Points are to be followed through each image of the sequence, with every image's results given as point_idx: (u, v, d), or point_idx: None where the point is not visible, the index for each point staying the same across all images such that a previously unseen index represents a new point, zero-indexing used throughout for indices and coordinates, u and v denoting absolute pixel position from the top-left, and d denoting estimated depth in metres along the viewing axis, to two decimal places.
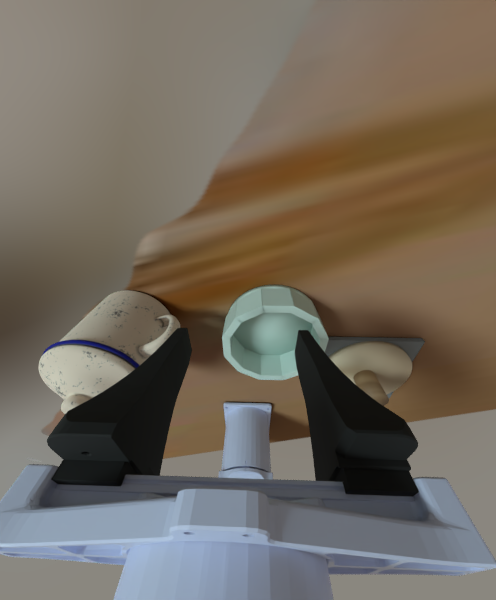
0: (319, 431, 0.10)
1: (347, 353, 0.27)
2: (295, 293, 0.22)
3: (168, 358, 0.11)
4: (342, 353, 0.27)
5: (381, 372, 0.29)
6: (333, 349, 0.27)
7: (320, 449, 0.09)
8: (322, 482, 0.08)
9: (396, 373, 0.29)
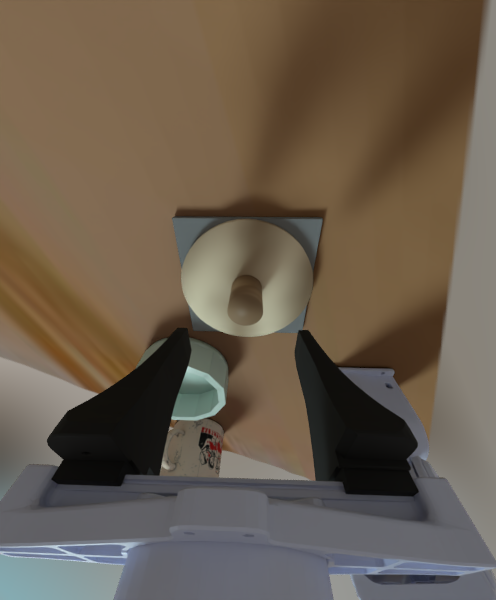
0: (319, 431, 0.10)
1: (202, 317, 0.22)
2: None
3: (168, 358, 0.11)
4: (204, 320, 0.22)
5: (234, 268, 0.19)
6: None
7: (320, 449, 0.09)
8: (322, 482, 0.08)
9: (236, 245, 0.17)
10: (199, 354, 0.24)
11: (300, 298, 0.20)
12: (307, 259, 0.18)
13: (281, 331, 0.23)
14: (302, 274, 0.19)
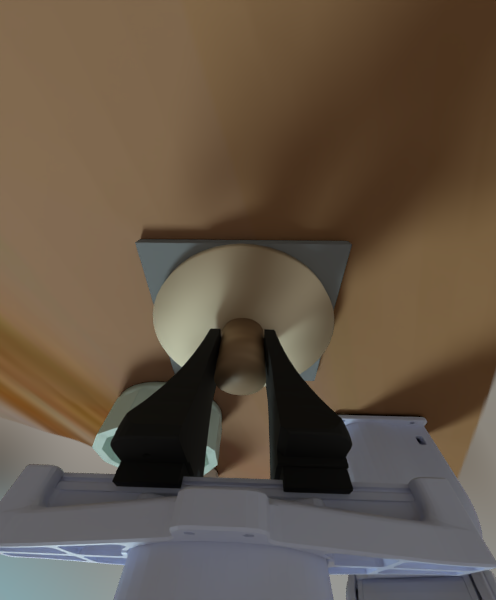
0: (272, 430, 0.10)
1: None
2: None
3: (209, 359, 0.11)
4: None
5: (226, 309, 0.13)
6: None
7: (272, 447, 0.09)
8: None
9: (227, 281, 0.12)
10: None
11: (316, 345, 0.15)
12: (327, 299, 0.13)
13: None
14: (319, 317, 0.14)
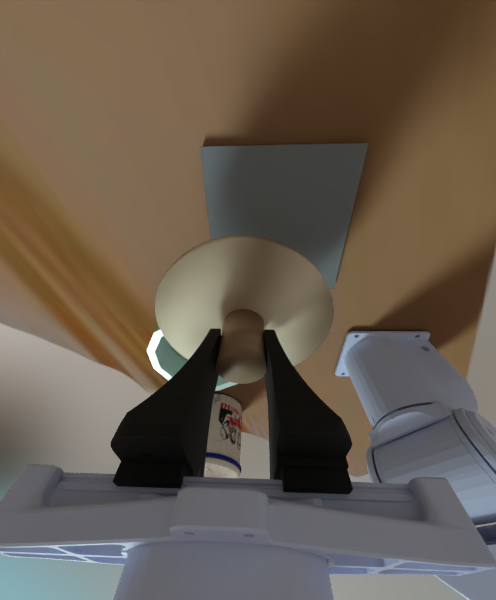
0: (271, 430, 0.10)
1: (186, 354, 0.17)
2: None
3: (209, 359, 0.11)
4: (189, 358, 0.17)
5: (227, 300, 0.14)
6: None
7: (271, 447, 0.09)
8: None
9: (230, 272, 0.12)
10: None
11: (314, 336, 0.15)
12: (328, 292, 0.13)
13: None
14: (319, 309, 0.14)
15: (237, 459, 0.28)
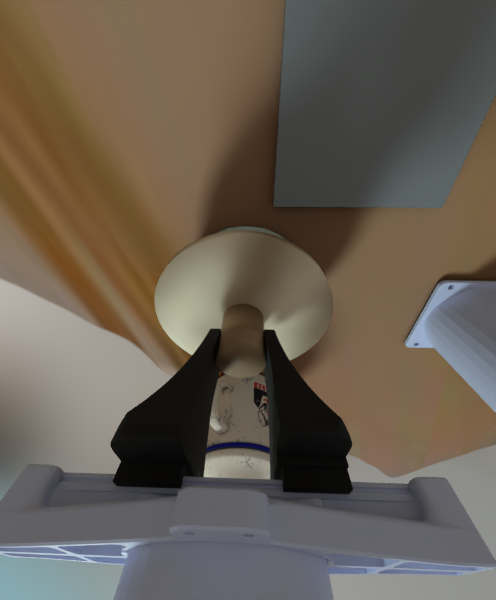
0: (271, 430, 0.10)
1: (183, 346, 0.17)
2: None
3: (209, 359, 0.11)
4: (186, 349, 0.17)
5: (229, 295, 0.13)
6: (297, 189, 0.15)
7: (271, 448, 0.09)
8: None
9: (233, 267, 0.12)
10: None
11: (312, 333, 0.16)
12: (329, 291, 0.13)
13: (411, 205, 0.15)
14: (319, 307, 0.14)
15: None
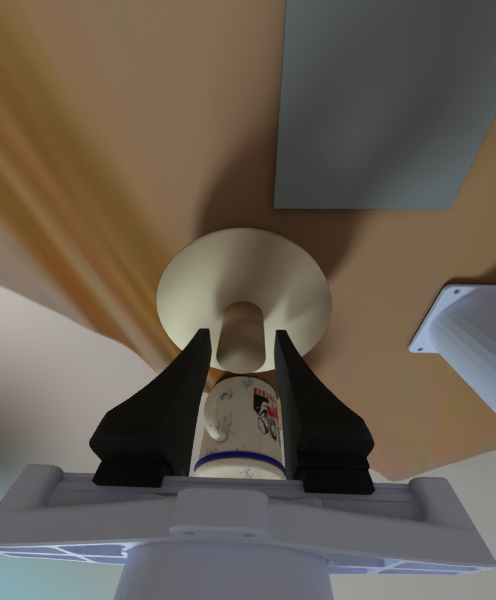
0: (288, 430, 0.10)
1: (183, 347, 0.17)
2: None
3: (195, 359, 0.11)
4: None
5: (229, 291, 0.14)
6: (299, 191, 0.14)
7: (288, 448, 0.09)
8: None
9: (234, 263, 0.13)
10: None
11: (312, 333, 0.16)
12: (327, 287, 0.13)
13: (417, 207, 0.15)
14: (318, 305, 0.14)
15: (281, 461, 0.21)
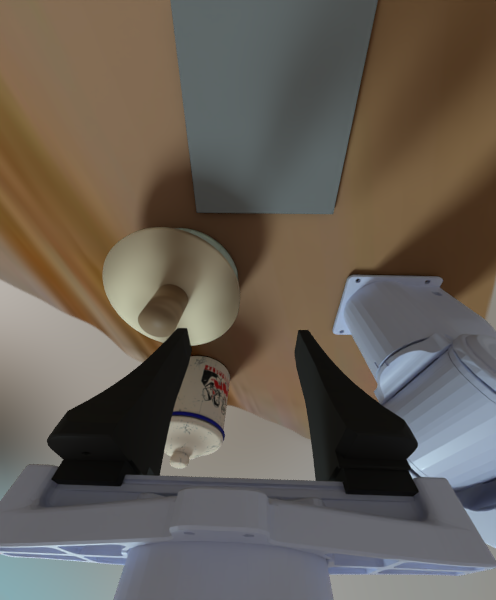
0: (319, 431, 0.10)
1: (130, 322, 0.21)
2: None
3: (168, 358, 0.11)
4: (133, 326, 0.21)
5: (157, 276, 0.18)
6: (213, 199, 0.18)
7: (320, 449, 0.09)
8: (322, 482, 0.08)
9: (156, 253, 0.17)
10: None
11: (229, 311, 0.20)
12: (230, 273, 0.17)
13: (307, 211, 0.19)
14: (227, 288, 0.18)
15: (220, 423, 0.25)
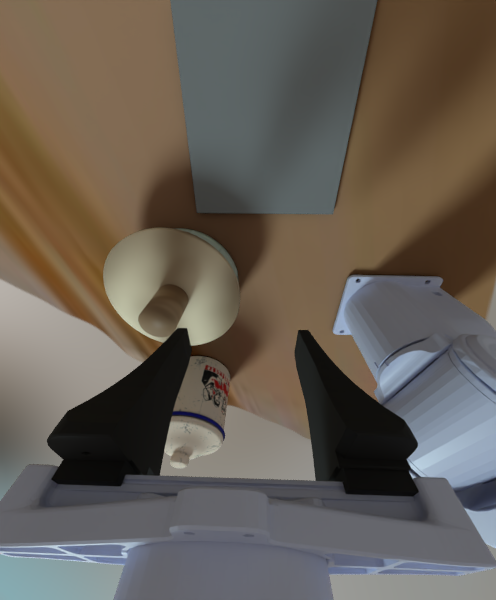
0: (319, 431, 0.10)
1: (131, 322, 0.21)
2: None
3: (168, 358, 0.11)
4: (134, 326, 0.21)
5: (157, 276, 0.18)
6: (213, 199, 0.18)
7: (320, 449, 0.09)
8: (322, 482, 0.08)
9: (156, 254, 0.17)
10: None
11: (229, 311, 0.20)
12: (230, 273, 0.18)
13: (307, 212, 0.19)
14: (227, 288, 0.18)
15: (220, 423, 0.25)
